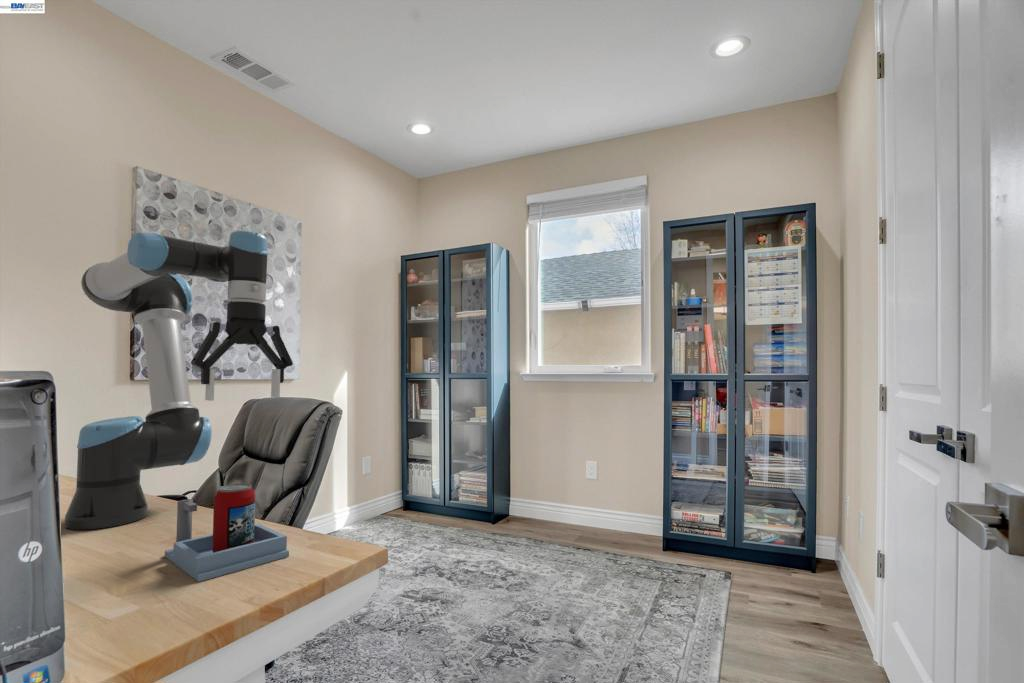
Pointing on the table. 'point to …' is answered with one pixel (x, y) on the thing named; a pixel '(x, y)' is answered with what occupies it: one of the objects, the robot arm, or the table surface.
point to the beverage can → (233, 516)
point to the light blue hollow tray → (206, 564)
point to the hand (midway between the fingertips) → (243, 399)
